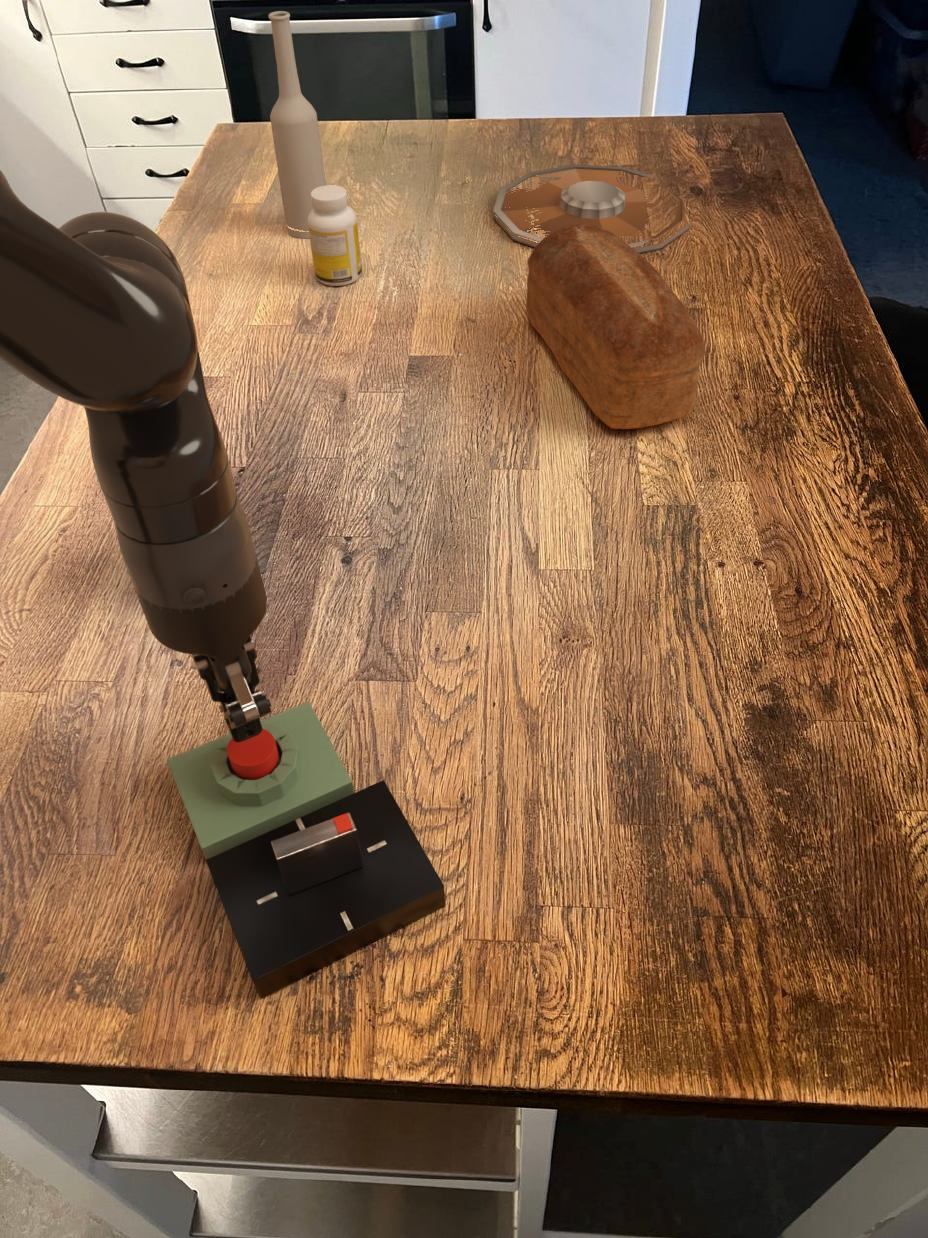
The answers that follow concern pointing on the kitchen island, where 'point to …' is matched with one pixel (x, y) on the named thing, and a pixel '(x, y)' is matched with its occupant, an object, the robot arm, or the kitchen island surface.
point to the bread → (614, 327)
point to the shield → (580, 205)
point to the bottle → (294, 134)
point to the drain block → (260, 782)
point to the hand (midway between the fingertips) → (245, 730)
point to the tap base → (326, 893)
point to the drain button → (253, 755)
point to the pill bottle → (334, 237)
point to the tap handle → (318, 853)
